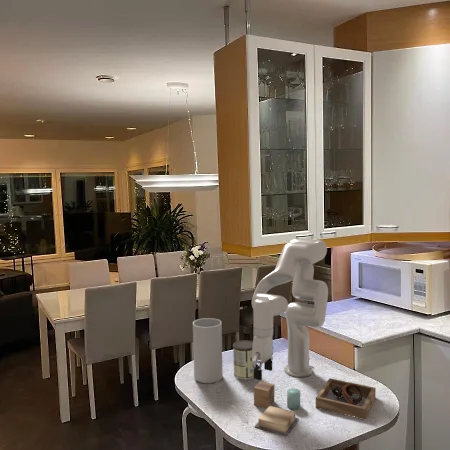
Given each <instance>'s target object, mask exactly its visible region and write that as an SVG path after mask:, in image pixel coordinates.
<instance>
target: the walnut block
mask: <svg viewBox="0 0 450 450" xmlns="http://www.w3.org/2000/svg"><path fill="white" fill-rule="evenodd" d="M274 402H275V384H274V383H270V382H265V381H261V380H259V382H258V383H257V384H256V385H255V386H254V387H253V405H254V406H258V407H261V408H265V409H267V408H268V407H269V406H273V404H274Z"/></svg>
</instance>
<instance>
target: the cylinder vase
mask: <svg viewBox="0 0 450 450" xmlns="http://www.w3.org/2000/svg"><path fill="white" fill-rule="evenodd" d="M222 329H223V328H222V321H221V319H217V318H211V317H208V318H207V317H205V318H204V317H203V318H199V319H195V320H194V321H192V337H193V338H192V342H193V346H192V347H193V348H192V349H193V373H194V374H193V375H194V376H193V377H194V379H195V381H196V382H198V383H202V384H214V383H217V382H219V381H220V380H222V379H223V374H224V373H223V372H224V371H223V342H222V341H223V335H222V334H223V333H222V332H223V330H222Z"/></svg>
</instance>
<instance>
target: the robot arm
mask: <svg viewBox="0 0 450 450" xmlns="http://www.w3.org/2000/svg"><path fill="white" fill-rule="evenodd" d="M327 252H328V248H327V243H326V242H325V241H324V240H320V239H309V238H307V239H306V238H294V239H291V240H290V241H289V242H287V243H286V244H285V245H284V246H283V247H282V250H281V253H280V255H279V258H278V260H277V262H276V266H275V268H274V269H273V270H272V271H271V272H270V273H269V274H267V275H266V276H264V277H263V278H262V279H261V280H259V282H258V283H257V285H256V288H255V290H254V293H253V295H252V298H251V307H252V309H253V338H252V339H253V340H252V341H253V346H252V364H253V369H254V378H253V380H257V381H261V380H262V379H263V369H264V370H265V371H271V372H272V371H273V359H274V358H273V355H274V341H273V336H274V317H276V316H280V315H283V314H284V313H285V320H286V325H287V364H286V365H285V366H284V373H285V374H287V375H288V376H291V377H294V378H295V377H296V378H306V377H309V376H310V375H312V374H313V373H314V371H313V370H314V369H313V368H312V366H310V359H311V358H310V333H309V329H308V327H312V328H318V329H319V328H321V327H323V325H324V323H325V321H326V315H327V314H326V313H327V307H328V297H329V287H328V285H327V283H326V282H325V281H323V280H319V279H314V272H315V268H314V265H313V264H316V263H318V262H320V261H322V260H324V258H325V257H326V255H327V254H328V253H327ZM291 281H292V289H291V290H292V291H291V292H292V293H291V294H292V296H293V298H295V299H297V300H301V301H305V302H306V301H307V302H313V303H314V304H310V303H305V302H298V301H293V302H290V303H289V302H288V299H287V298H285V297H284V296H283V295H279V294H272V293H267V292H269V291H270V290H271V289H272V288H274V287H277V286H279V285H283V284H287V283H289V282H291ZM263 364H264V365H263ZM263 366H264V367H263ZM262 367H263V369H262Z"/></svg>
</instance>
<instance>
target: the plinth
mask: <svg viewBox="0 0 450 450" xmlns="http://www.w3.org/2000/svg"><path fill="white" fill-rule="evenodd" d="M299 420H300V418H298V417H296V411H294V410H293V411H292V410H290V409H289V410H288V409H284V408H281V407H277V406H273V405H271V406H269V407H268V408H265V410H264V412H262V414H261V415H260V416H259V418H258V422H256V424H255V425H254V428H256V429H259V430H263V431H266V432H270V433H274V434H277V435H280V436H284V437H287V436H288V435H289V434H290V433H291V431H292V430H293V428H294V427H295V426H296V424H297V423H298V422H299Z"/></svg>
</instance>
